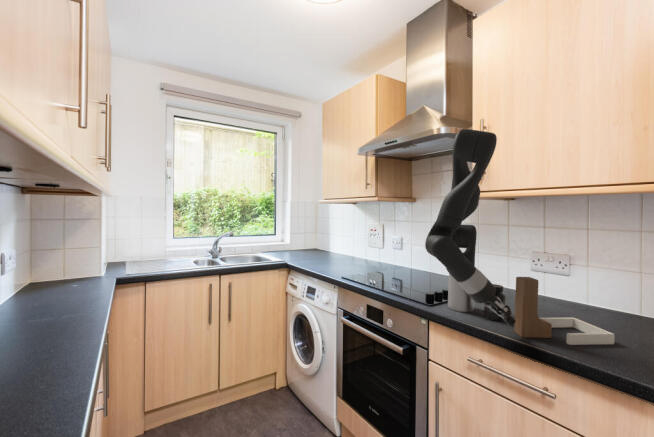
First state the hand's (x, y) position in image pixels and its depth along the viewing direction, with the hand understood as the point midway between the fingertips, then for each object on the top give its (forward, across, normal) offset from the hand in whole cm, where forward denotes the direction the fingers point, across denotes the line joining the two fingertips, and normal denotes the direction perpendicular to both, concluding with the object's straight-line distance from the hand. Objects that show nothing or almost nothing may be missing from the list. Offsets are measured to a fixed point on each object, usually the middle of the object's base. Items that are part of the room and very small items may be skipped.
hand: (512, 323), depth 97 cm
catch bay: (+17, 0, -11) cm, 20 cm away
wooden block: (+8, 0, -2) cm, 8 cm away
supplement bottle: (+6, +15, 0) cm, 16 cm away
